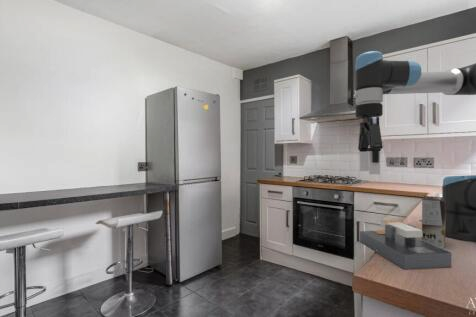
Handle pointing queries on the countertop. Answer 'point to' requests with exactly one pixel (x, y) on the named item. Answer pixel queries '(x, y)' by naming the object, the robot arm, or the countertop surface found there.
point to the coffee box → (433, 220)
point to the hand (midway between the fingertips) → (368, 172)
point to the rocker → (402, 228)
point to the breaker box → (405, 249)
